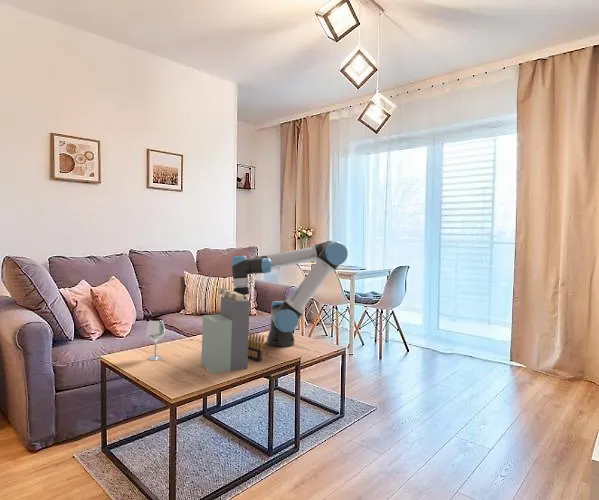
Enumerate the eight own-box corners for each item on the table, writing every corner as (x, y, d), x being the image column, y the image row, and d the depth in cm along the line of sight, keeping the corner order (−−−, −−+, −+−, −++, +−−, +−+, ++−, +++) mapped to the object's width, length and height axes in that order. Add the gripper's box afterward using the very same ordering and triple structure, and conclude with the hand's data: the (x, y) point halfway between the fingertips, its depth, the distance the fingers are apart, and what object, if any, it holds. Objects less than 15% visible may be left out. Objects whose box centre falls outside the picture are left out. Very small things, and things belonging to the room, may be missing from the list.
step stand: (201, 364, 181) (203, 297, 179) (234, 359, 189) (236, 295, 188) (212, 373, 169) (214, 302, 168) (247, 368, 177) (249, 300, 176)
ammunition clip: (240, 356, 192) (245, 330, 193) (243, 355, 193) (247, 330, 194) (259, 361, 187) (264, 335, 187) (261, 361, 188) (266, 335, 189)
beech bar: (218, 293, 193) (218, 288, 192) (224, 293, 194) (224, 288, 194) (237, 301, 174) (237, 295, 174) (243, 300, 176) (243, 295, 175)
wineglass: (157, 354, 192) (158, 316, 191) (168, 358, 187) (169, 319, 186) (142, 358, 185) (143, 319, 184) (152, 362, 180) (153, 322, 179)
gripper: (231, 287, 211) (234, 328, 210) (235, 287, 187) (238, 333, 186) (245, 286, 213) (248, 326, 212) (251, 286, 189) (255, 331, 188)
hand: (244, 330), depth 199 cm, fingers open, 13 cm apart
